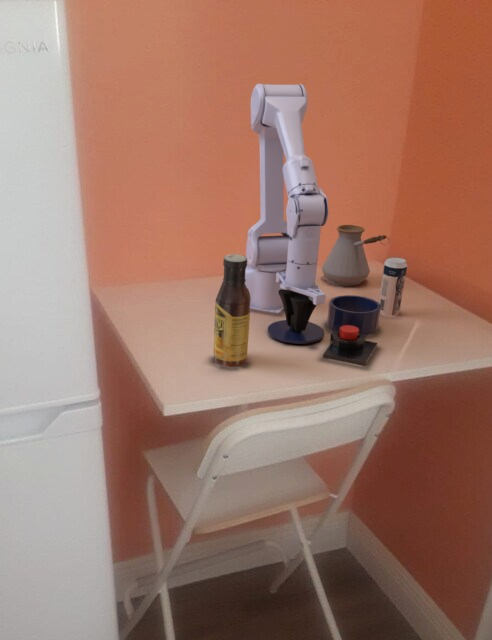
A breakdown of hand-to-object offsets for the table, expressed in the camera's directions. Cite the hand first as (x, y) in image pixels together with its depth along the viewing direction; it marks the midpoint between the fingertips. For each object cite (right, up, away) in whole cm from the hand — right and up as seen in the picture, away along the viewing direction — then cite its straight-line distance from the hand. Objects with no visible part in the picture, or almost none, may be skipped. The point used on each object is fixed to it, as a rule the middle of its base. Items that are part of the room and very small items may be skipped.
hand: (295, 327), depth 139 cm
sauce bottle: (-13, -8, -10) cm, 19 cm away
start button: (+10, -2, -5) cm, 11 cm away
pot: (+12, +1, +6) cm, 14 cm away
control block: (+10, -6, -5) cm, 13 cm away
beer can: (+22, +5, +14) cm, 26 cm away
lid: (0, -1, 0) cm, 1 cm away
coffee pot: (+17, +14, +29) cm, 36 cm away
